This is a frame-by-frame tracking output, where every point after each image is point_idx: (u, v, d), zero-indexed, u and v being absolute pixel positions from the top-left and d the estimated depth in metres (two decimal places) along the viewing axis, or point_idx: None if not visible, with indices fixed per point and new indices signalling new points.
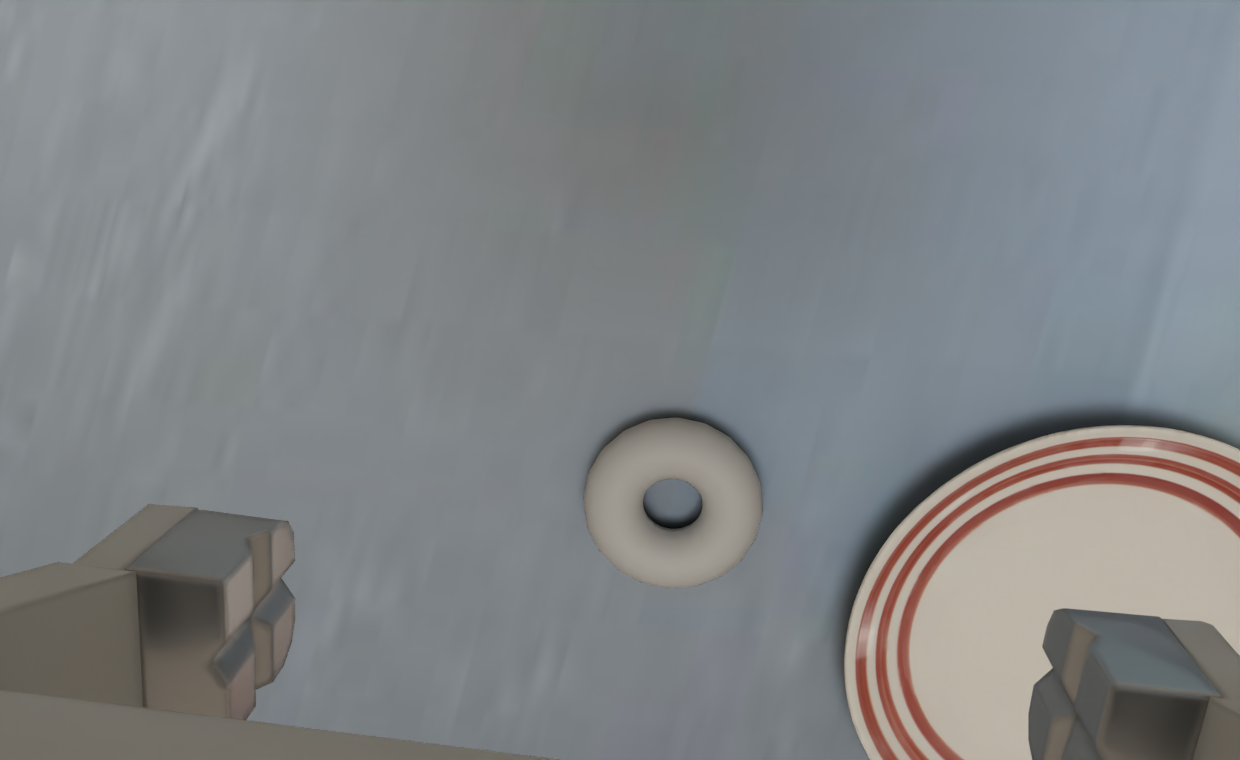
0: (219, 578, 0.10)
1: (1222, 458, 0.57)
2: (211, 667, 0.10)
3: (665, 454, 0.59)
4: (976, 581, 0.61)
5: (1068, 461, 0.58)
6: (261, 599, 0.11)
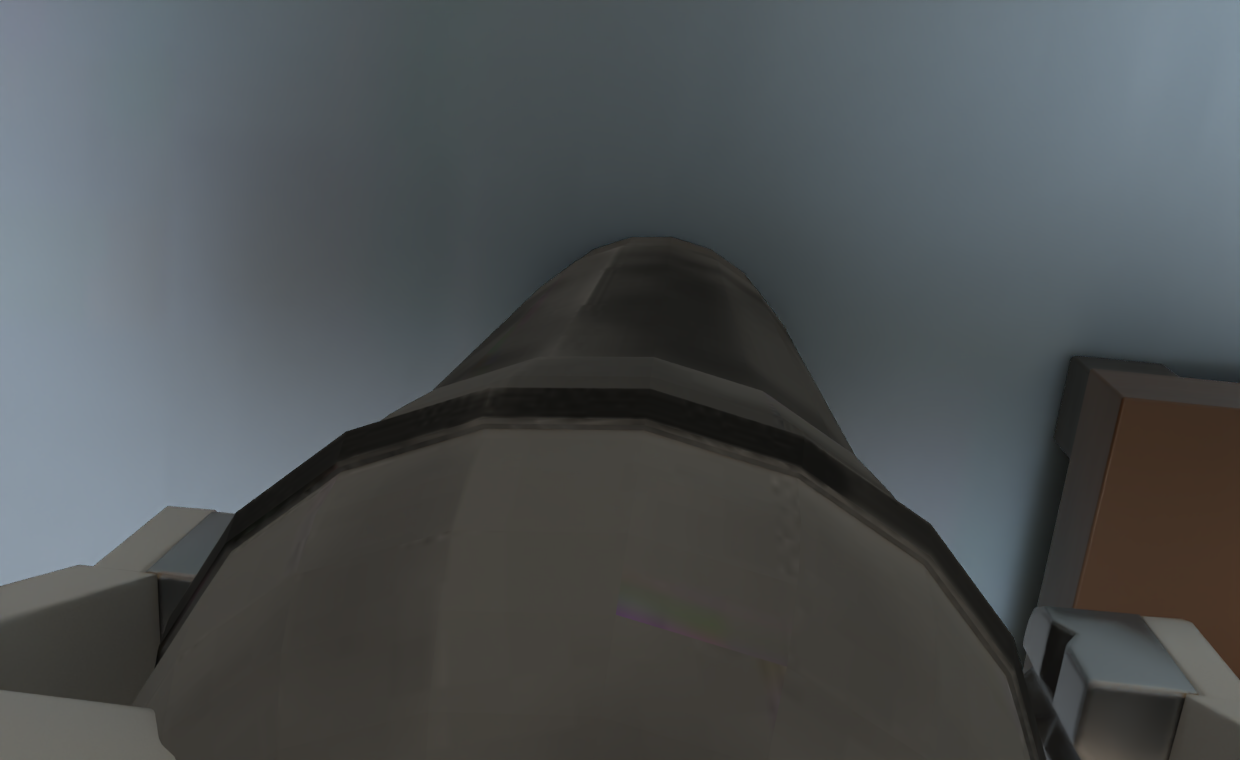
0: None
1: None
2: None
3: None
4: None
5: None
6: None
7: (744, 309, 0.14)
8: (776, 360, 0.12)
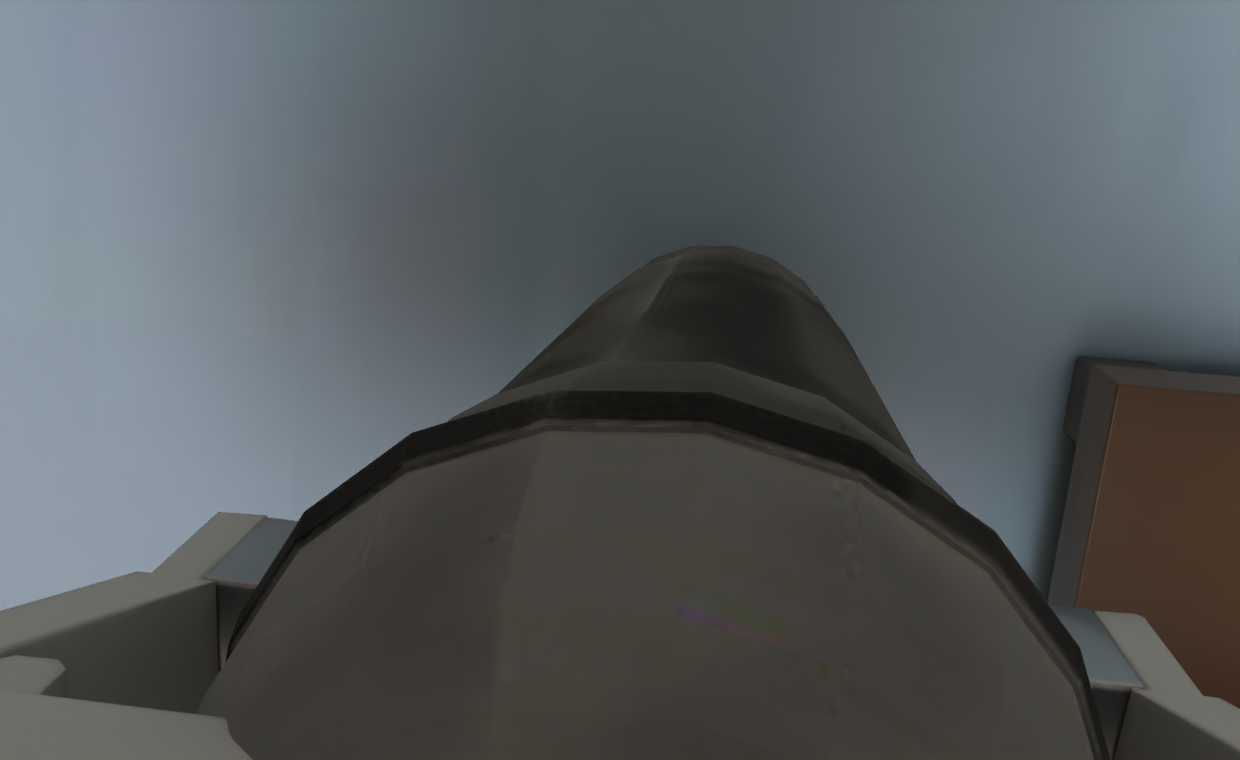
0: None
1: None
2: None
3: None
4: None
5: None
6: None
7: (805, 317, 0.14)
8: (837, 367, 0.12)
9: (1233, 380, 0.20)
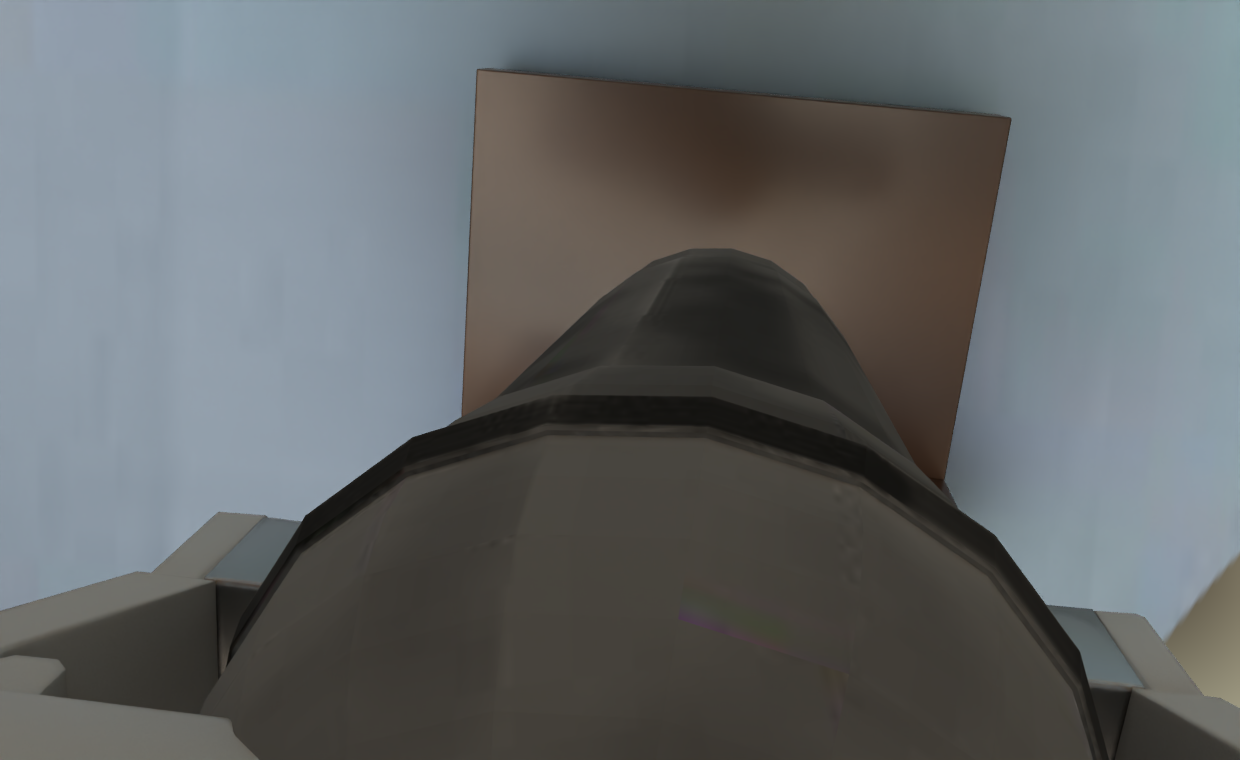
0: None
1: None
2: None
3: None
4: None
5: None
6: None
7: (805, 320, 0.14)
8: (837, 371, 0.12)
9: (560, 75, 0.34)
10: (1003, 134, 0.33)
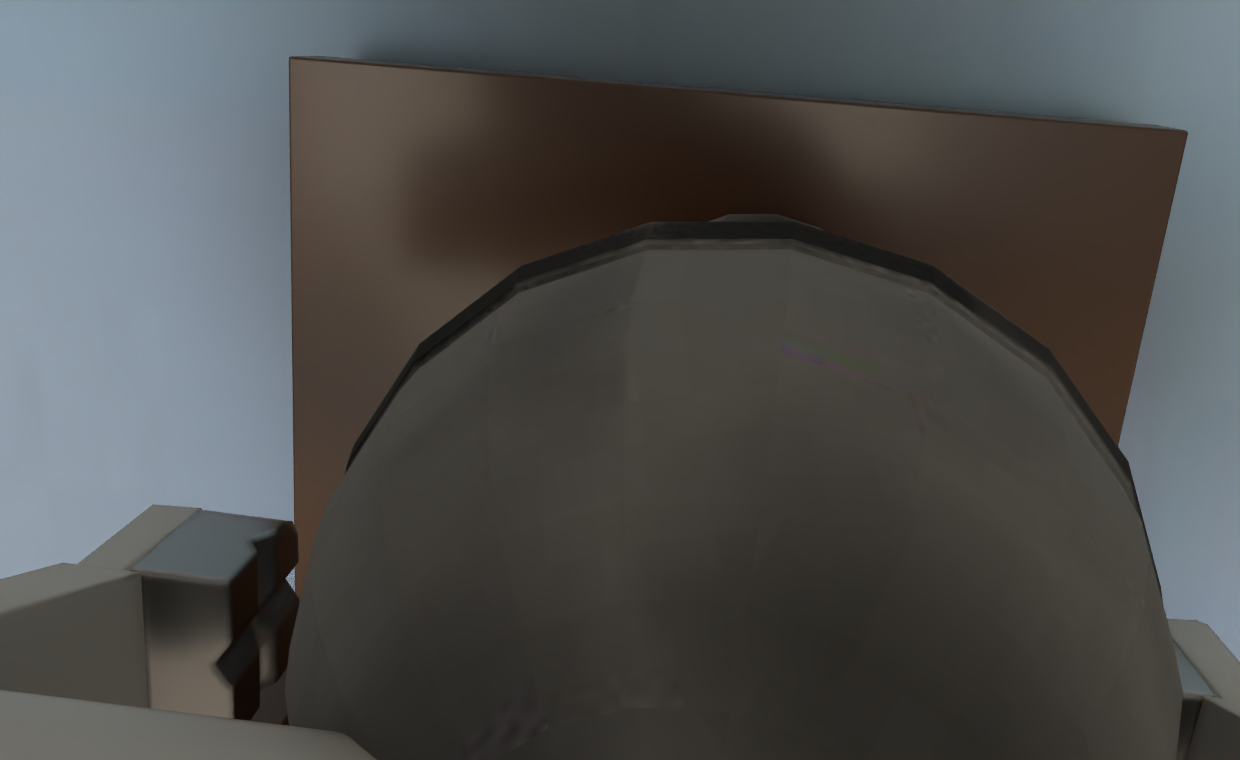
0: (224, 578, 0.10)
1: None
2: (216, 667, 0.10)
3: None
4: None
5: None
6: (265, 599, 0.11)
7: None
8: None
9: (433, 66, 0.21)
10: (1173, 159, 0.19)
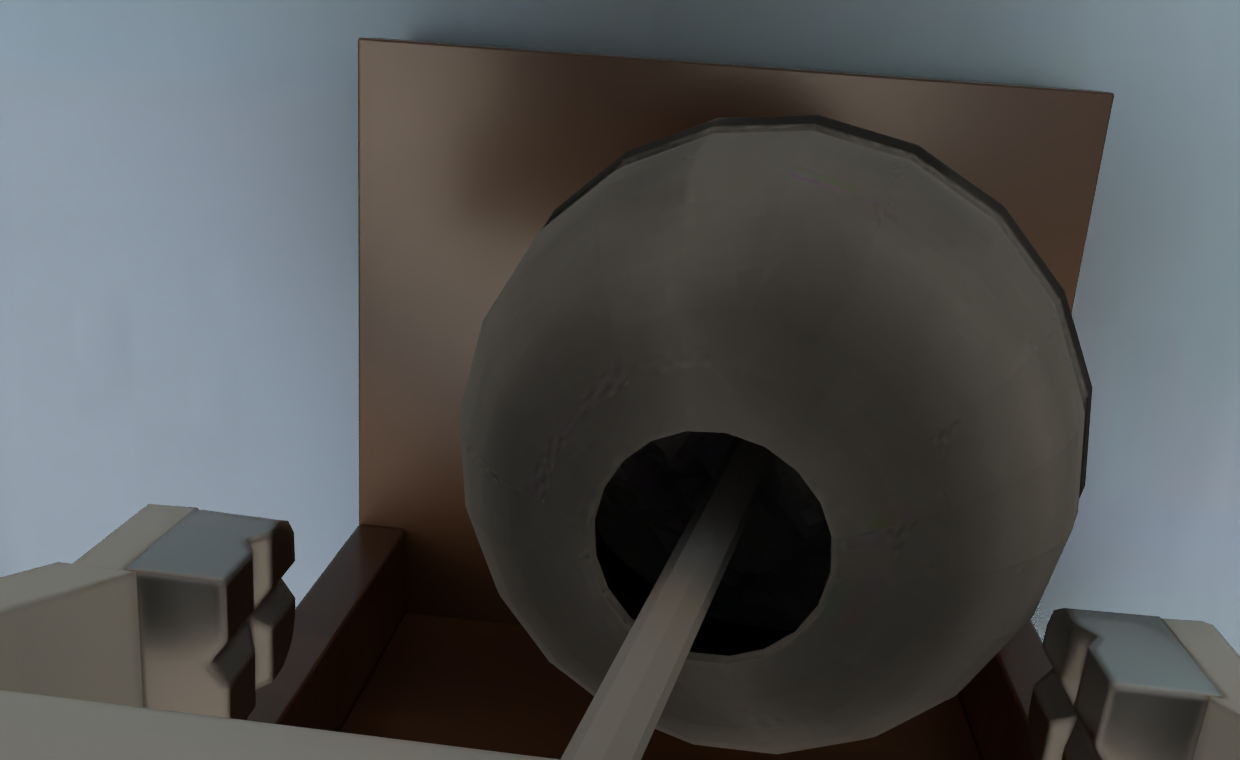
0: (219, 579, 0.10)
1: None
2: (211, 667, 0.10)
3: None
4: None
5: None
6: (261, 599, 0.11)
7: None
8: None
9: (478, 45, 0.25)
10: (1102, 116, 0.23)
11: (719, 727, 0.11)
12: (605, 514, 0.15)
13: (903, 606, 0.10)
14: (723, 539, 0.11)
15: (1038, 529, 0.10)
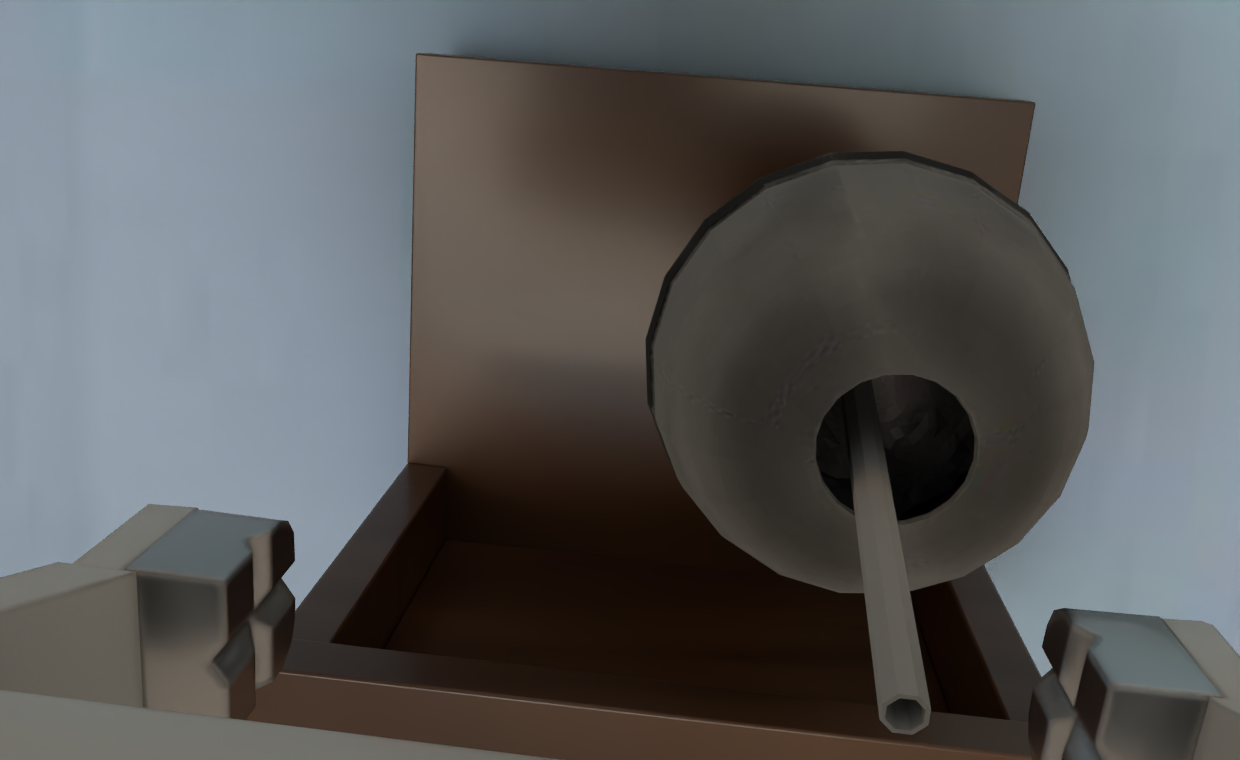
0: (219, 578, 0.10)
1: None
2: (211, 667, 0.10)
3: None
4: None
5: None
6: (261, 599, 0.11)
7: None
8: None
9: None
10: (1026, 121, 0.28)
11: None
12: None
13: (1010, 479, 0.15)
14: (880, 447, 0.16)
15: (1080, 427, 0.16)
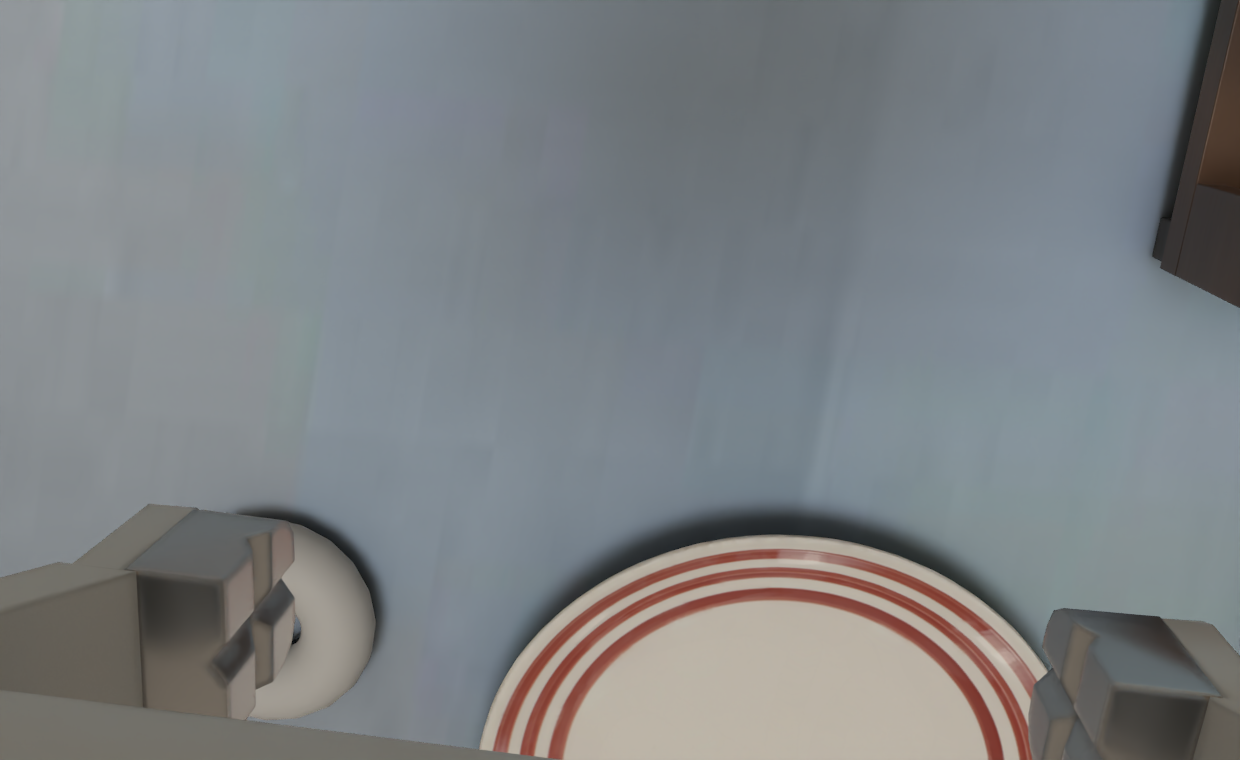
0: (219, 578, 0.10)
1: (900, 574, 0.47)
2: (211, 667, 0.10)
3: None
4: (635, 711, 0.51)
5: (722, 575, 0.48)
6: (261, 599, 0.11)
7: None
8: None
9: None
10: None
11: None
12: None
13: None
14: None
15: None
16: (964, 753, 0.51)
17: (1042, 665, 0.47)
